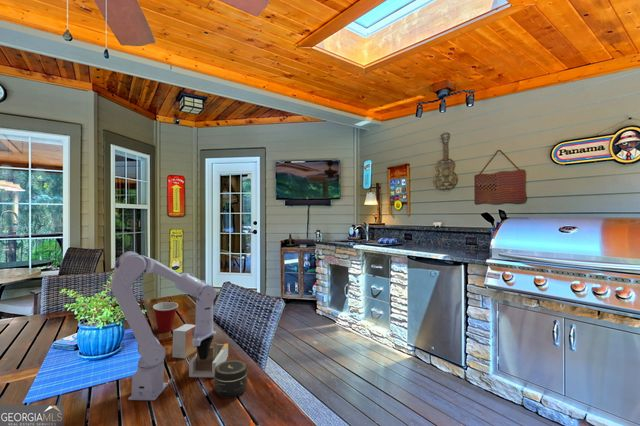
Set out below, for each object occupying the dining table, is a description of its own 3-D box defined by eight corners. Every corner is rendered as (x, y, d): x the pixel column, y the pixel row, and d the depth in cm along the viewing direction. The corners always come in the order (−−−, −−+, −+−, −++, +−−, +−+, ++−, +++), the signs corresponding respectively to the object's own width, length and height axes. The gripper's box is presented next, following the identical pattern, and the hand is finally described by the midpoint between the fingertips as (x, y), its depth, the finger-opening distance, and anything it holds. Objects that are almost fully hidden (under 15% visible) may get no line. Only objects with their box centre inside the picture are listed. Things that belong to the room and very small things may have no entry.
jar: (230, 403, 98) (231, 377, 98) (206, 393, 102) (207, 369, 102) (253, 388, 106) (253, 364, 106) (230, 379, 111) (230, 357, 111)
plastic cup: (155, 336, 147) (156, 309, 147) (149, 329, 156) (150, 304, 156) (180, 331, 154) (181, 305, 154) (174, 325, 163) (174, 300, 163)
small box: (184, 359, 126) (185, 331, 126) (171, 357, 127) (172, 330, 127) (196, 350, 134) (197, 324, 134) (184, 349, 135) (185, 323, 135)
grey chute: (215, 377, 112) (215, 362, 112) (188, 377, 112) (189, 361, 112) (227, 356, 128) (228, 343, 128) (204, 356, 128) (204, 343, 128)
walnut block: (212, 370, 115) (213, 348, 115) (196, 370, 115) (197, 347, 115) (216, 363, 120) (217, 342, 120) (201, 363, 120) (201, 342, 120)
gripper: (209, 326, 106) (208, 368, 106) (222, 312, 120) (221, 350, 120) (187, 326, 106) (186, 368, 106) (202, 312, 120) (201, 349, 120)
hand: (203, 358), depth 113 cm, fingers closed
